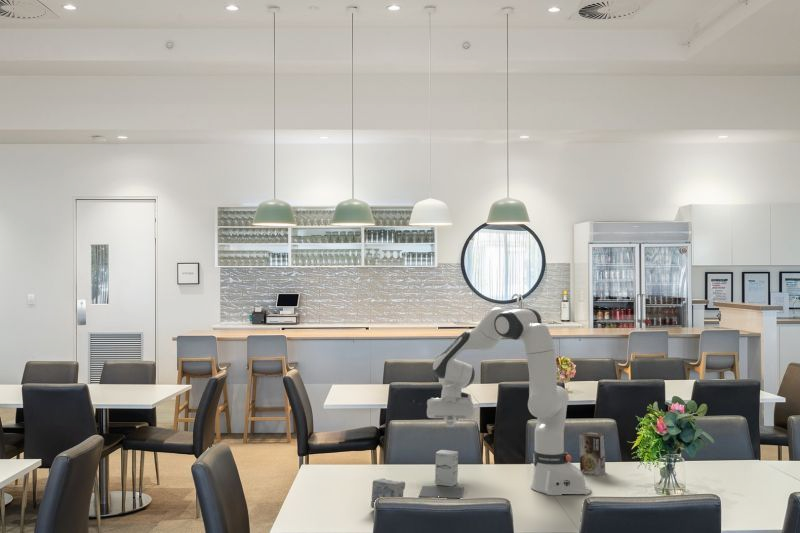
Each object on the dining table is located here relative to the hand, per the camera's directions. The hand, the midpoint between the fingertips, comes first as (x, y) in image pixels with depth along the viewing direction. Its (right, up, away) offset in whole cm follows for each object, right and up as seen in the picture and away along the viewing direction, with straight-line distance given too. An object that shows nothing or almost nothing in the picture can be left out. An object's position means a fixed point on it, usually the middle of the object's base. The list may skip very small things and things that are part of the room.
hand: (449, 426), depth 297 cm
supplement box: (-3, -19, -18) cm, 26 cm away
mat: (-5, -19, -28) cm, 34 cm away
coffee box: (+59, -19, -3) cm, 62 cm away
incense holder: (-25, -19, -47) cm, 56 cm away
